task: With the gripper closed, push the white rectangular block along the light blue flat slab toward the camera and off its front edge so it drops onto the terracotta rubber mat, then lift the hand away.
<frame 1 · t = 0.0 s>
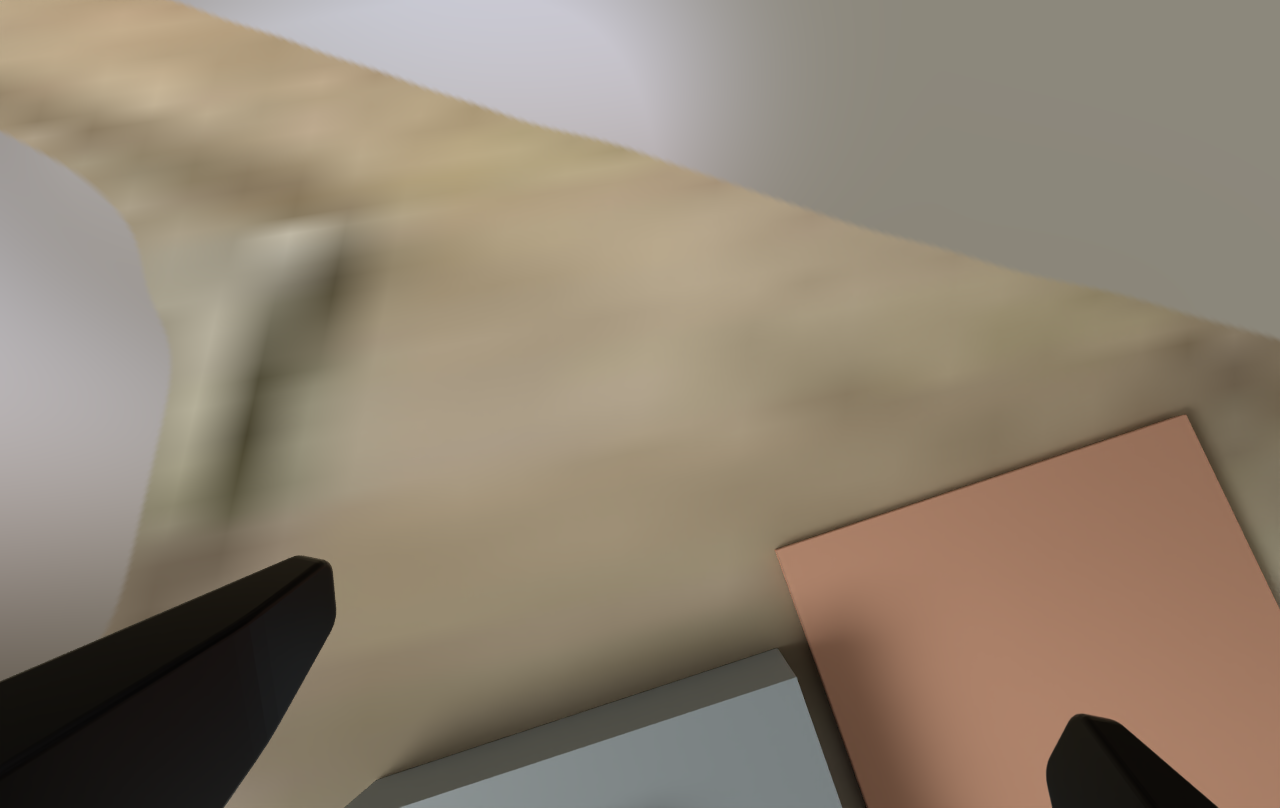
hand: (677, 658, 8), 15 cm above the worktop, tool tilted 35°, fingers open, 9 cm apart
mat: (1102, 792, 21), on the worktop
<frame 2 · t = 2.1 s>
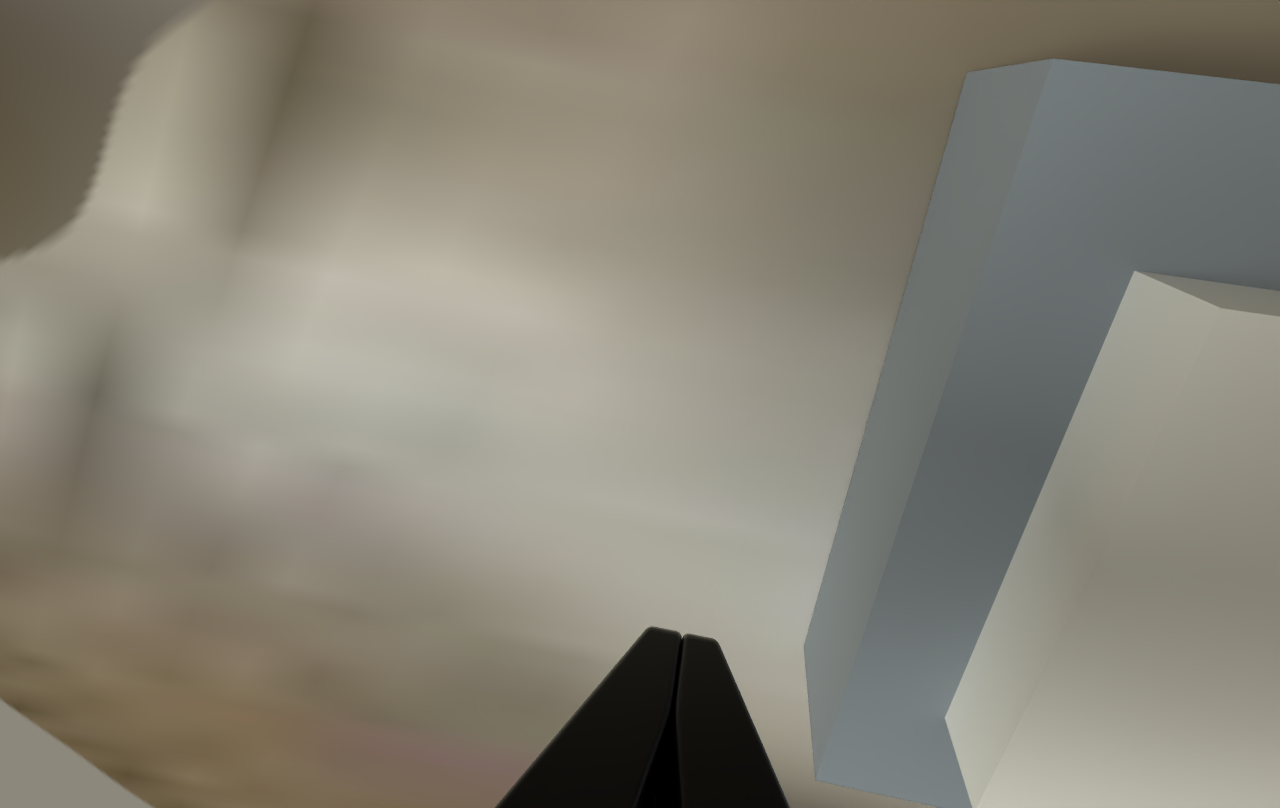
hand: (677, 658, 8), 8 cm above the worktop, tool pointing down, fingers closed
white rectangular block: (1211, 564, 11), point 4 cm above the worktop, touching light blue flat slab
light blue flat slab: (1197, 468, 15), on the worktop
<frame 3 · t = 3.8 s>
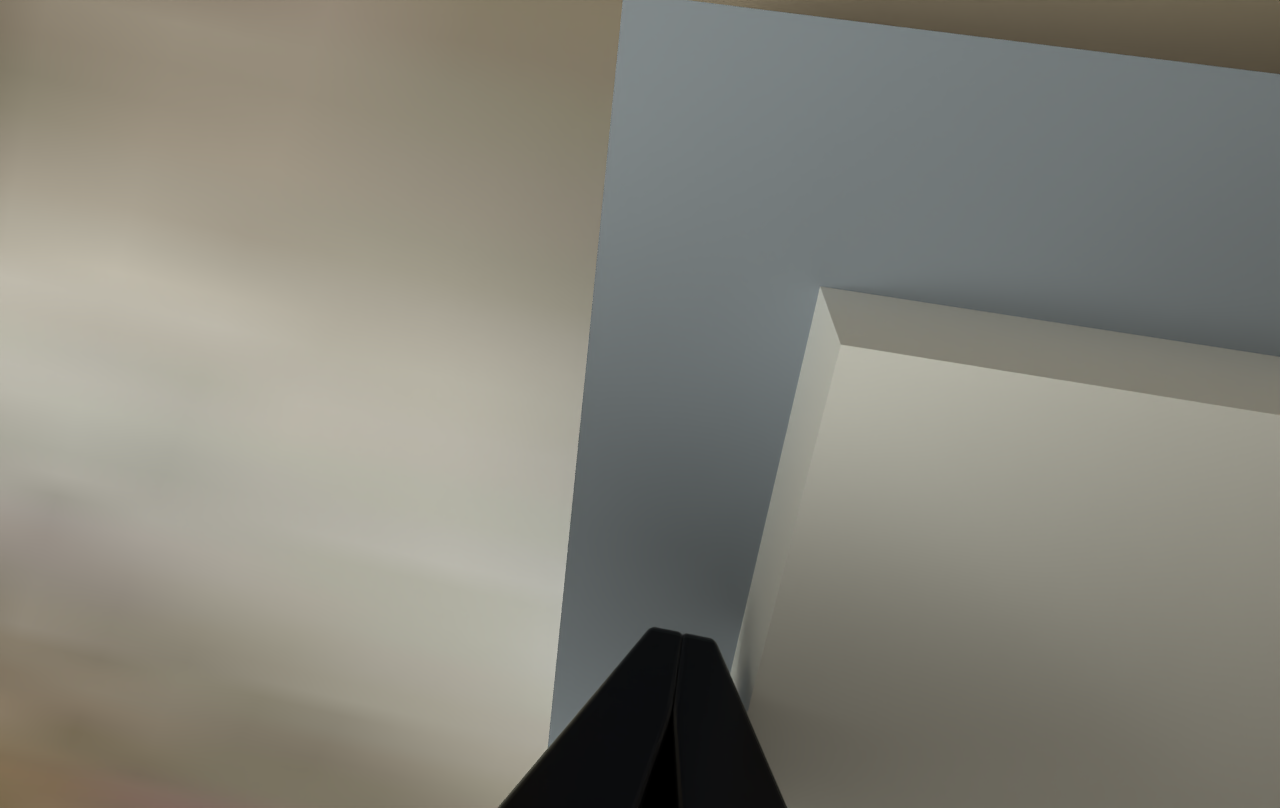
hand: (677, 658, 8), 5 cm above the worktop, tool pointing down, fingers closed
white rectangular block: (974, 660, 9), point 4 cm above the worktop, touching light blue flat slab, gripper
light blue flat slab: (995, 519, 12), on the worktop
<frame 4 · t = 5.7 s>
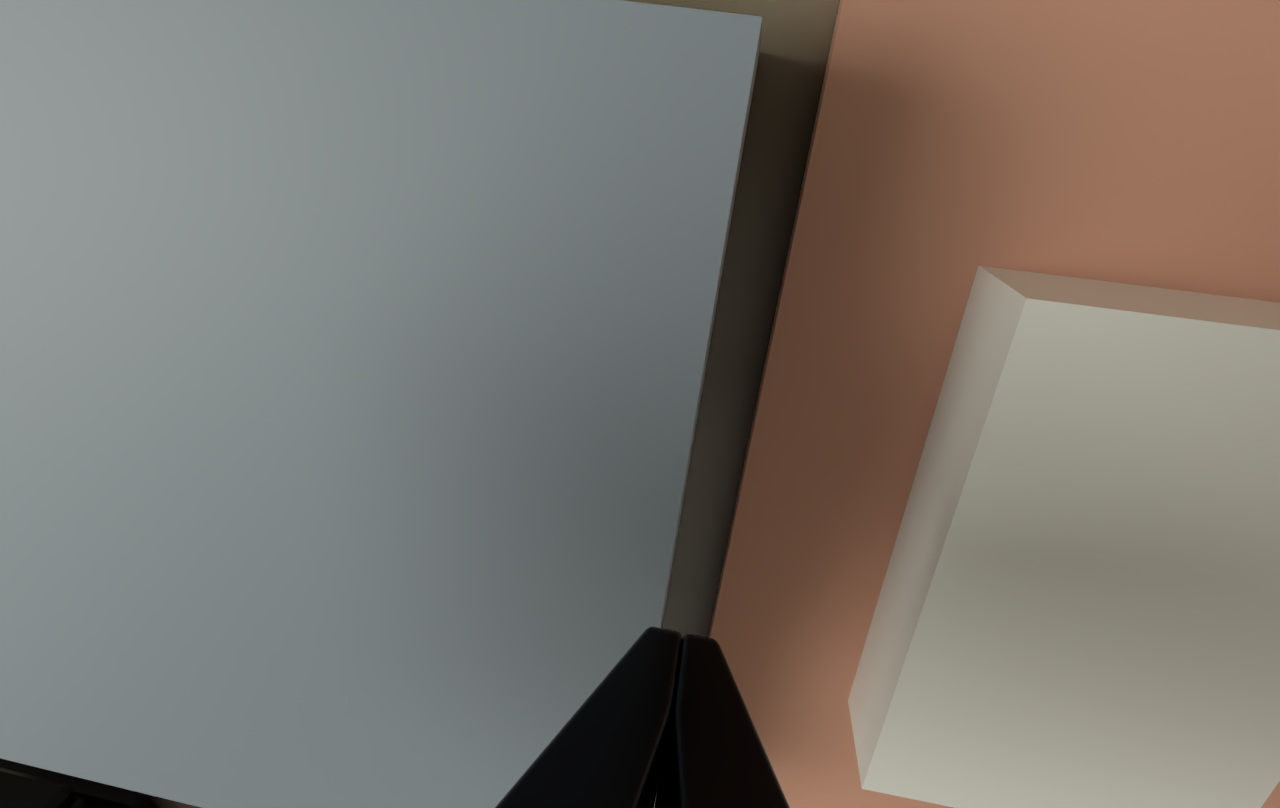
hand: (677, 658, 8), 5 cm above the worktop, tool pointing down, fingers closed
white rectangular block: (1139, 623, 10), point 2 cm above the worktop, tilted 180°, touching mat
light blue flat slab: (343, 400, 14), on the worktop
mat: (1131, 542, 12), on the worktop
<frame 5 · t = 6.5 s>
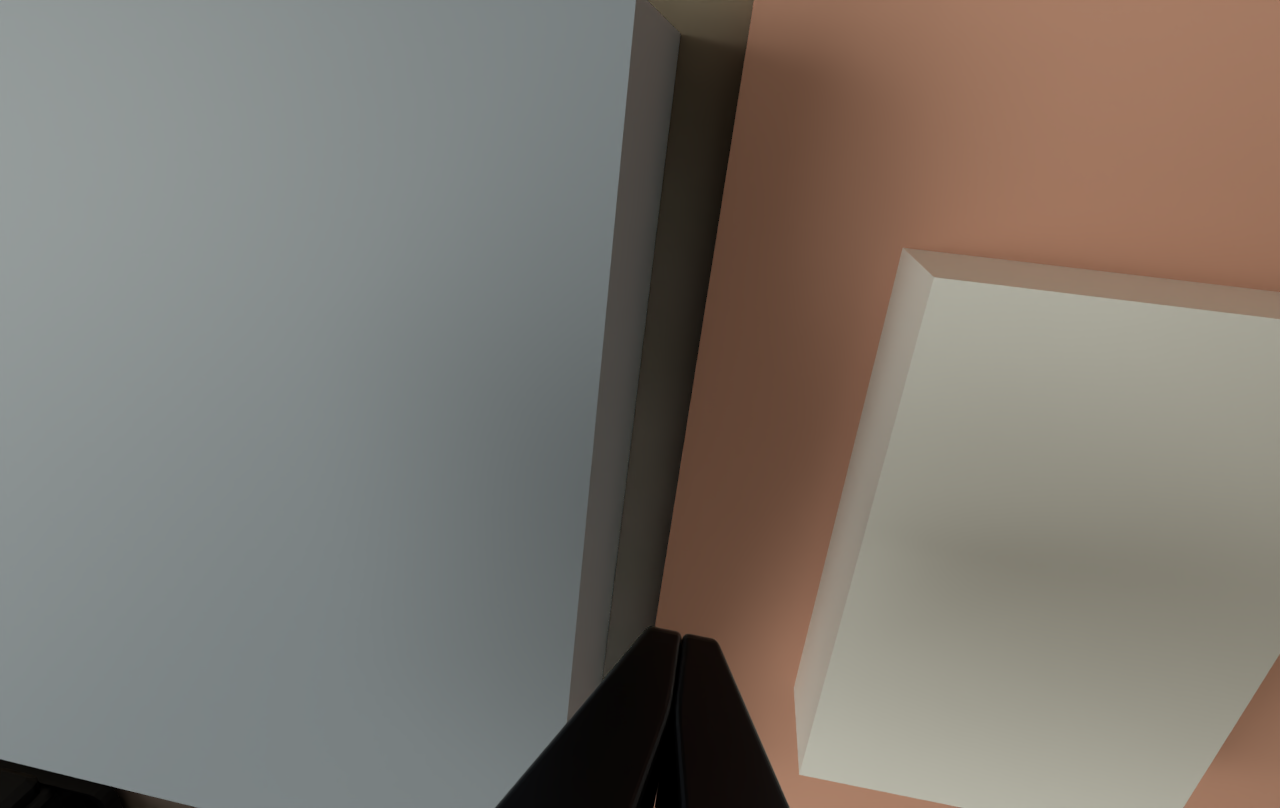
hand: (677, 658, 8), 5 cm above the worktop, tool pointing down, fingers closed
white rectangular block: (1063, 606, 10), point 2 cm above the worktop, tilted 180°, touching mat
light blue flat slab: (287, 389, 14), on the worktop
mat: (1069, 527, 12), on the worktop
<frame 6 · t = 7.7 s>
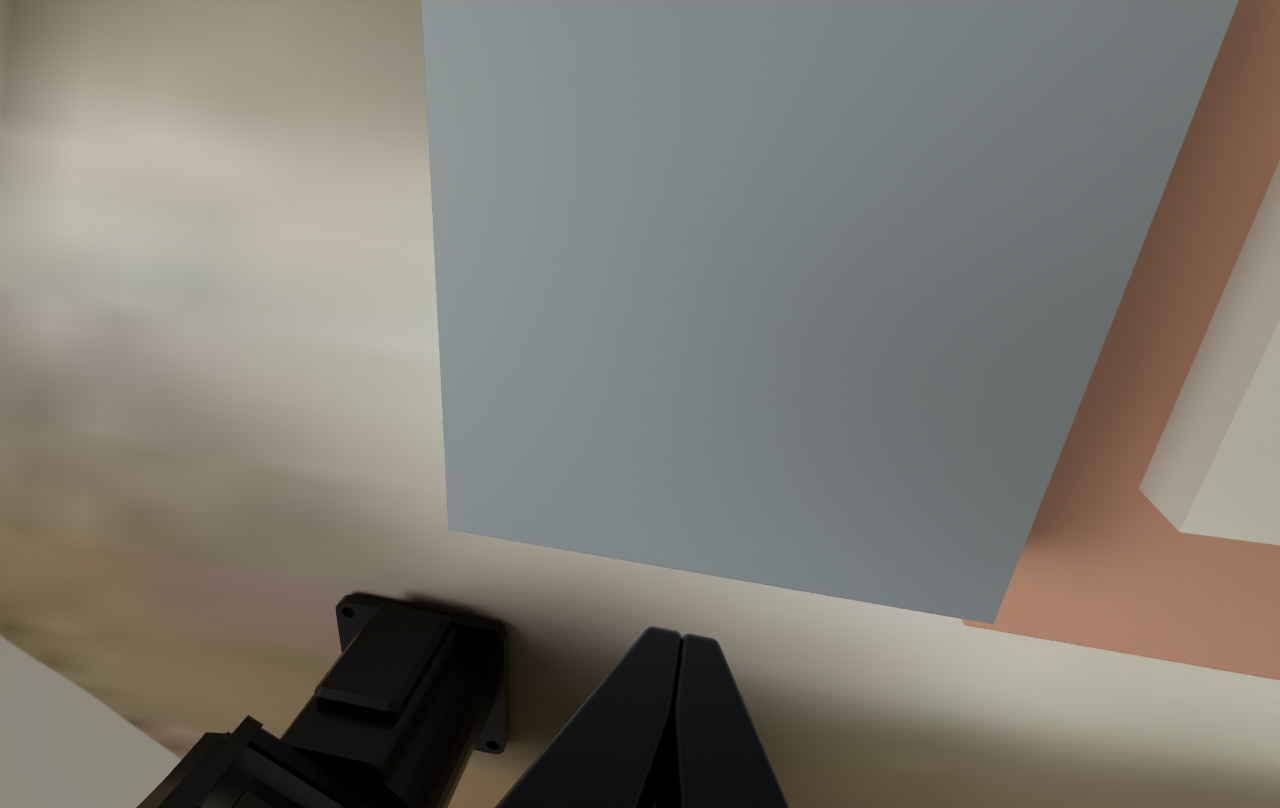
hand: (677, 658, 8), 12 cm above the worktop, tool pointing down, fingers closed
light blue flat slab: (751, 269, 18), on the worktop
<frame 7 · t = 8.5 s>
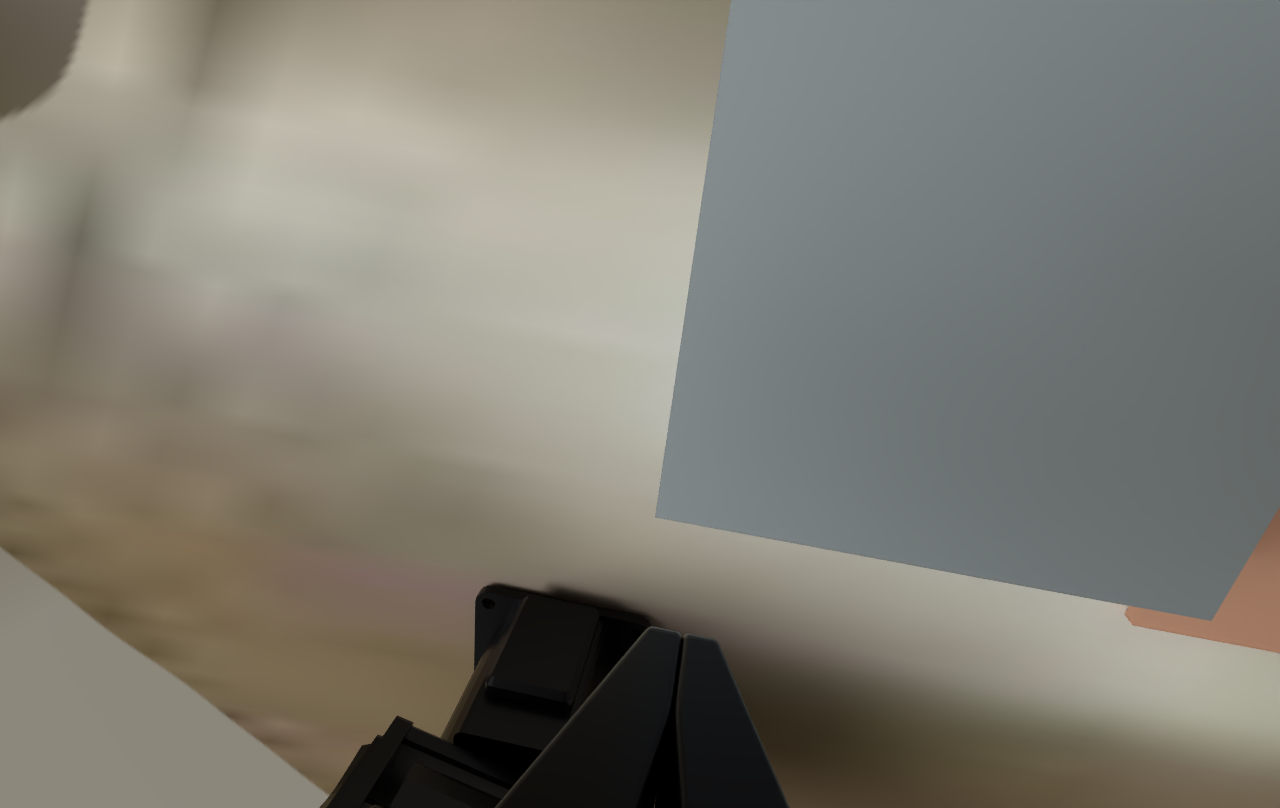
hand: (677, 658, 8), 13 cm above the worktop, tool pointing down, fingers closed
light blue flat slab: (963, 266, 18), on the worktop
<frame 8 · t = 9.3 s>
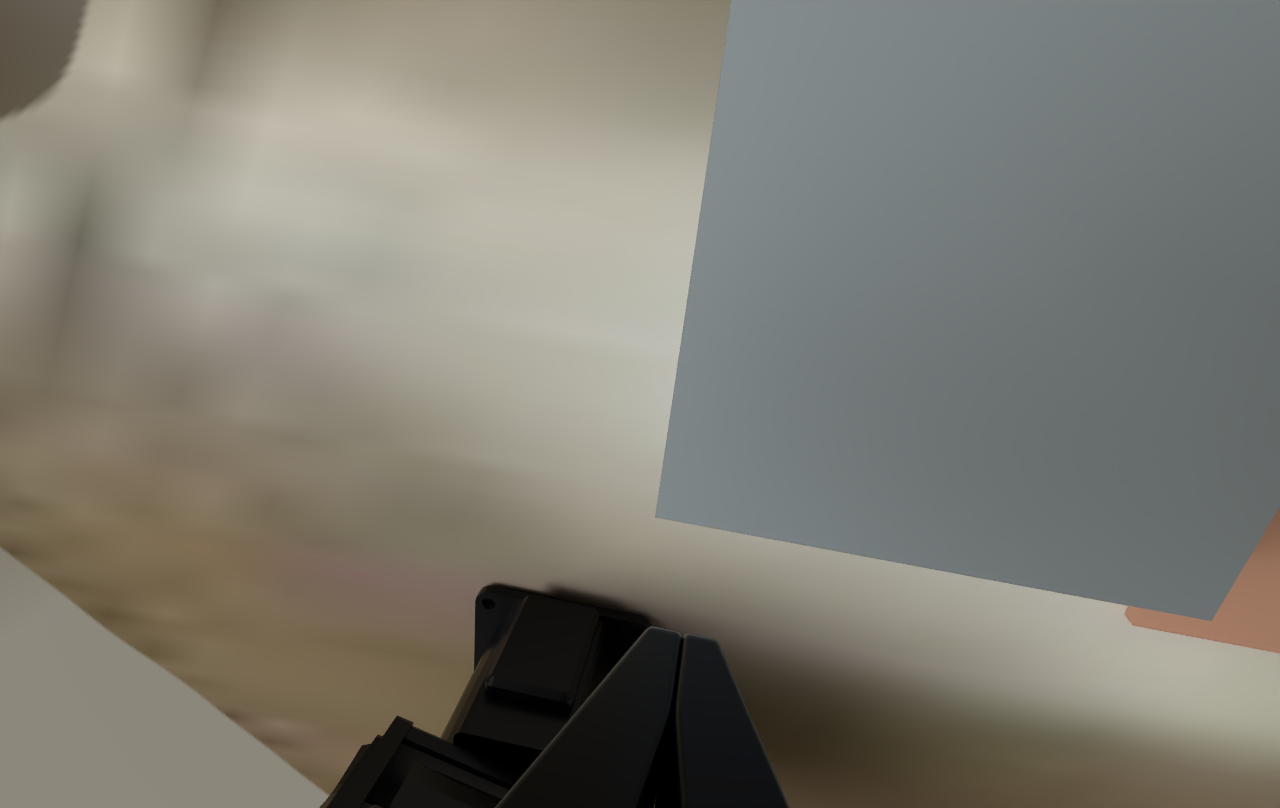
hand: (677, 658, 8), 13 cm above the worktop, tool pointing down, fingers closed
light blue flat slab: (963, 266, 18), on the worktop
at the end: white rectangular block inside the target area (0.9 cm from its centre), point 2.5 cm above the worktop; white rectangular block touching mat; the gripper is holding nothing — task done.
